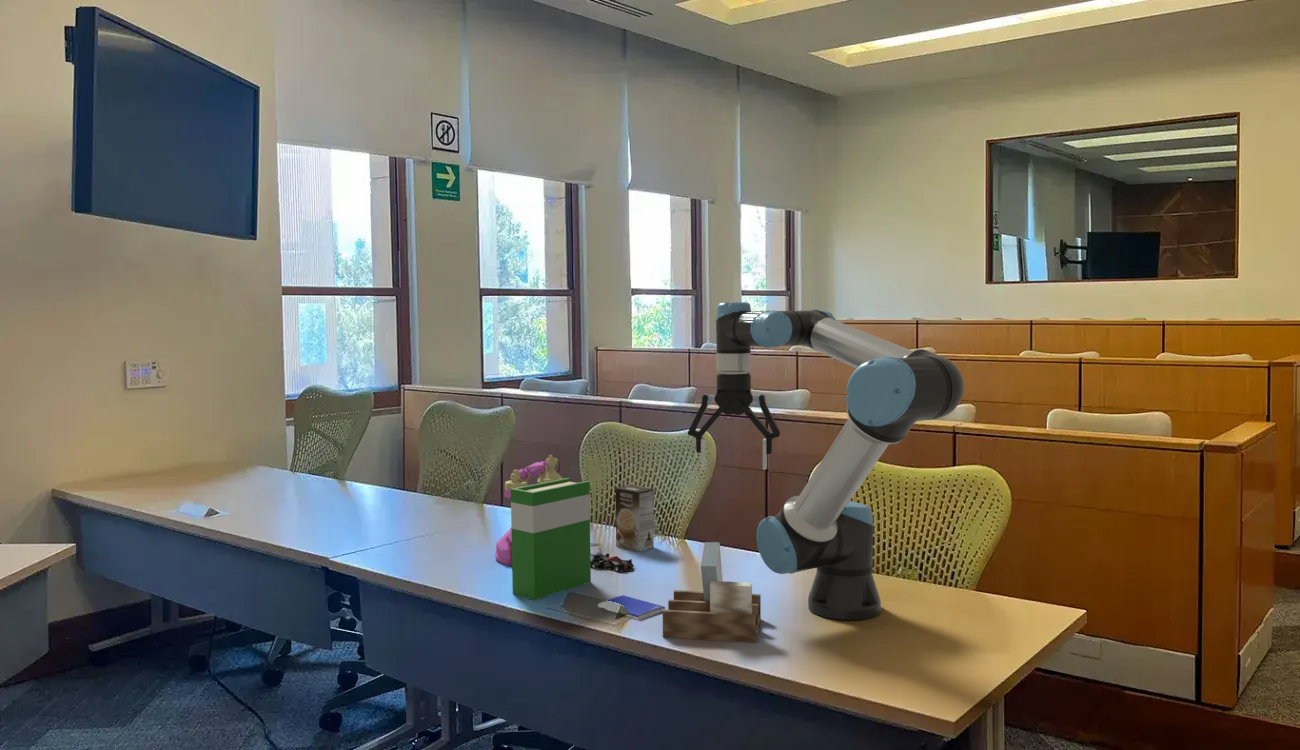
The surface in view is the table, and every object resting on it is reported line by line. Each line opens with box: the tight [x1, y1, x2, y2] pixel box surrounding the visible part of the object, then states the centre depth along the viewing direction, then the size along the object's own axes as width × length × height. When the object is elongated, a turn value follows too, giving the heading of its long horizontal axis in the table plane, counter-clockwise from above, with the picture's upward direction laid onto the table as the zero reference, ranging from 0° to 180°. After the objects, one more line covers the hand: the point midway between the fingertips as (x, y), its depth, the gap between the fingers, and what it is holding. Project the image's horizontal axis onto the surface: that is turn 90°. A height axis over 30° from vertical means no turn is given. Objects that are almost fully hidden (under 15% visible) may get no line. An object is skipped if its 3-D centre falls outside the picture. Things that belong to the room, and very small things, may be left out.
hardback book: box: [510, 477, 592, 601], centre depth 218 cm, size 18×7×24 cm, turn 139°
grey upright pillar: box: [700, 541, 724, 602], centre depth 191 cm, size 3×7×12 cm, turn 169°
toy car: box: [590, 548, 635, 573], centre depth 235 cm, size 6×12×4 cm, turn 60°
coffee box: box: [614, 484, 655, 552], centre depth 255 cm, size 9×6×16 cm
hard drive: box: [607, 594, 666, 621], centre depth 202 cm, size 2×8×12 cm
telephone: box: [494, 454, 565, 566], centre depth 250 cm, size 36×22×25 cm, turn 161°
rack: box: [662, 580, 762, 643], centre depth 190 cm, size 18×14×10 cm
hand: (734, 468), depth 209 cm, fingers open, 13 cm apart
